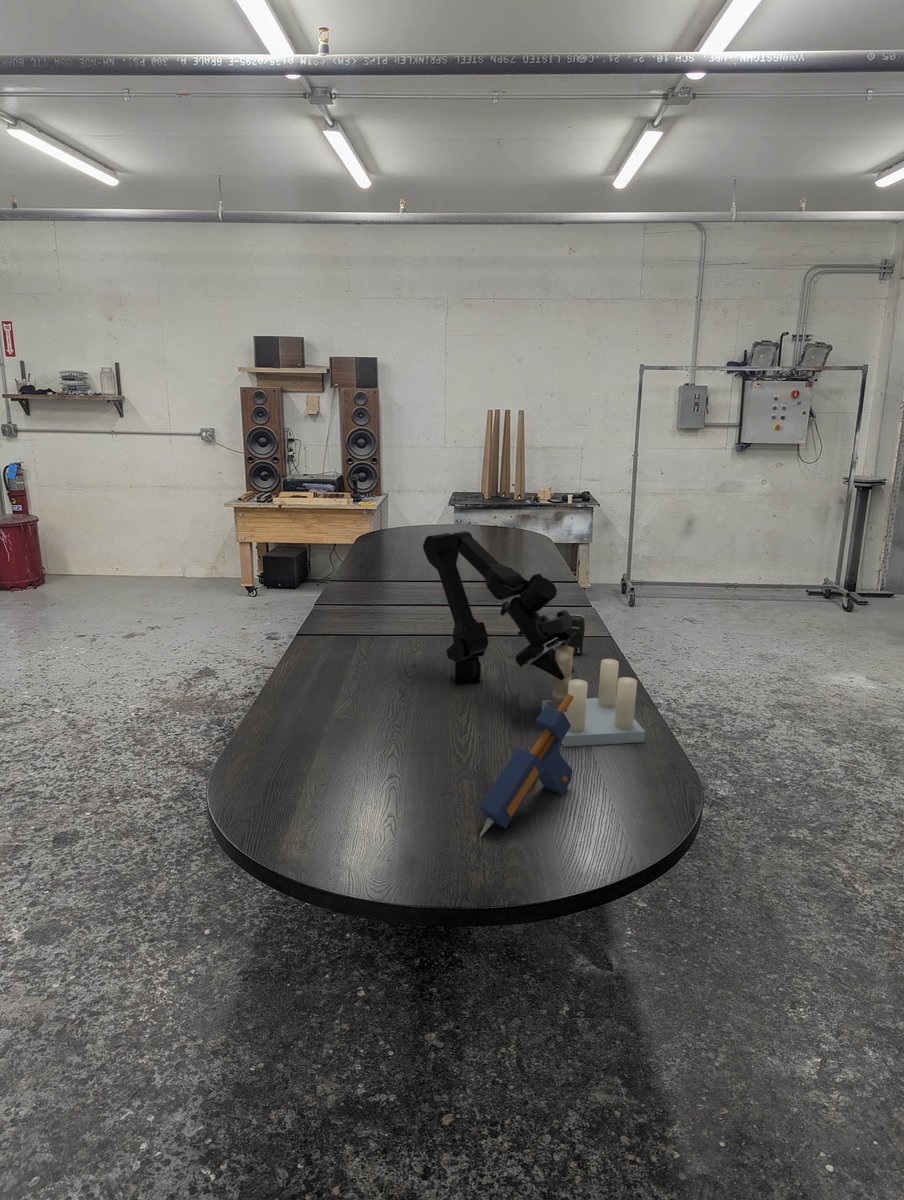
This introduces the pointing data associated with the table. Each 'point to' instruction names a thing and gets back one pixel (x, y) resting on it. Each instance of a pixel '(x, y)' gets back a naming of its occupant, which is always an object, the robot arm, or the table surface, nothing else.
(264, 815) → the table surface
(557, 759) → the glue gun
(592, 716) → the stool seat
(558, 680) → the loose leg
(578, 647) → the battery charger
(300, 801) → the table surface
